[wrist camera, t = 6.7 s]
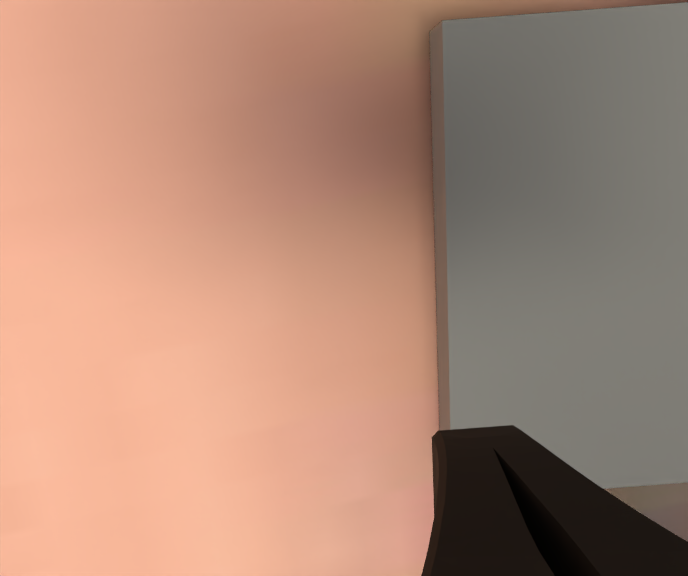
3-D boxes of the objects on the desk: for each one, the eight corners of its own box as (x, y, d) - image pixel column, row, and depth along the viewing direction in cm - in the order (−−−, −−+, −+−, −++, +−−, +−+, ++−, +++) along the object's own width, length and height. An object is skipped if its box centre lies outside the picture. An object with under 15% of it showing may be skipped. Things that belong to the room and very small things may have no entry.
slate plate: (809, 436, 20) (859, 469, 18) (440, 463, 20) (451, 499, 18) (889, -2, 16) (964, -19, 14) (429, 31, 16) (442, 20, 14)
